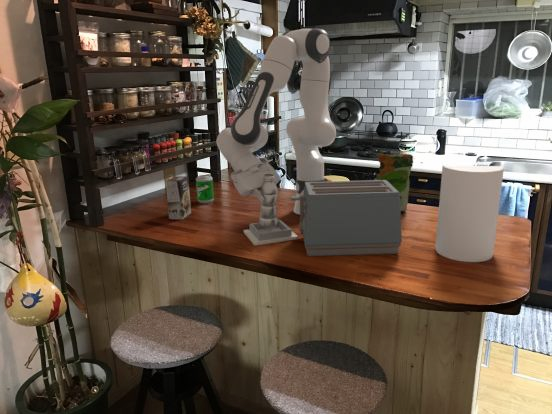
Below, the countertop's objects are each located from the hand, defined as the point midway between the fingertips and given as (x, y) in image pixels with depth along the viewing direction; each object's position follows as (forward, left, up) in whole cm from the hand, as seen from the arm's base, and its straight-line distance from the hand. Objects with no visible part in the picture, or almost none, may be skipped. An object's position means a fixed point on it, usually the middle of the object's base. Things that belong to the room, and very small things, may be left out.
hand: (270, 198), depth 160 cm
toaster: (-20, +18, -15) cm, 30 cm away
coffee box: (+27, -38, -14) cm, 49 cm away
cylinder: (-53, +37, -14) cm, 66 cm away
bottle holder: (0, -1, -14) cm, 14 cm away
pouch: (-55, -7, -14) cm, 57 cm away
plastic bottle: (+1, -1, -12) cm, 12 cm away
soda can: (+13, -55, -14) cm, 58 cm away
